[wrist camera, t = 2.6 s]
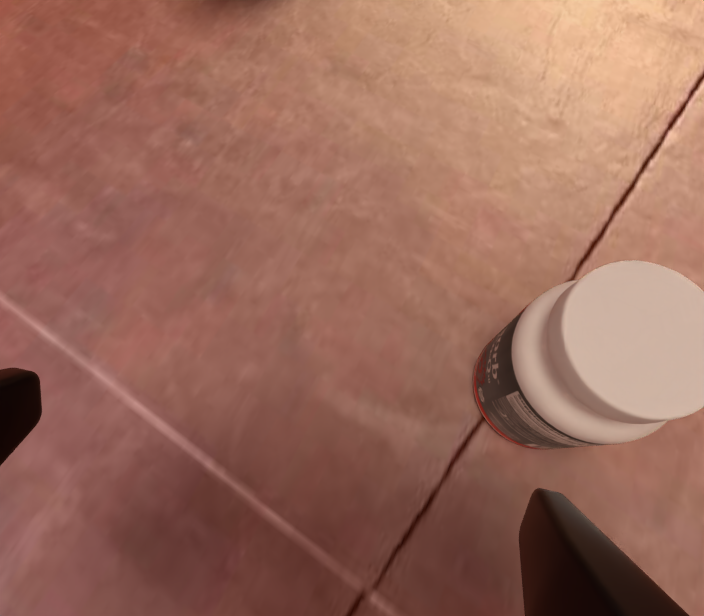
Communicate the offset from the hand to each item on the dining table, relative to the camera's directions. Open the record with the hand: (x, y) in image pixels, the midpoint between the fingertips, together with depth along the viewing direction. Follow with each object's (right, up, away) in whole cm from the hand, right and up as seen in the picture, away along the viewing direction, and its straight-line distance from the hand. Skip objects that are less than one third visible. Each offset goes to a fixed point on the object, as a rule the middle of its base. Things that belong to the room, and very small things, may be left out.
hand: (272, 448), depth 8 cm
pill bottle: (+10, -1, +15) cm, 18 cm away
